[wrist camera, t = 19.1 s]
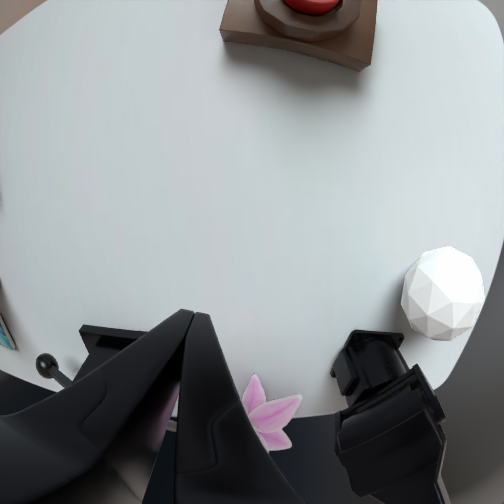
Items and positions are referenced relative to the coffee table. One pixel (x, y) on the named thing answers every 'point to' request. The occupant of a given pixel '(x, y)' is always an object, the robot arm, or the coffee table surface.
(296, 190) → the coffee table surface
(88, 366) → the bracket
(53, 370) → the lever
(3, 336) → the smartphone
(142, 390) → the robot arm
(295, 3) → the button
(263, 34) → the button block
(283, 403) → the lily
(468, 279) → the geometric ball
